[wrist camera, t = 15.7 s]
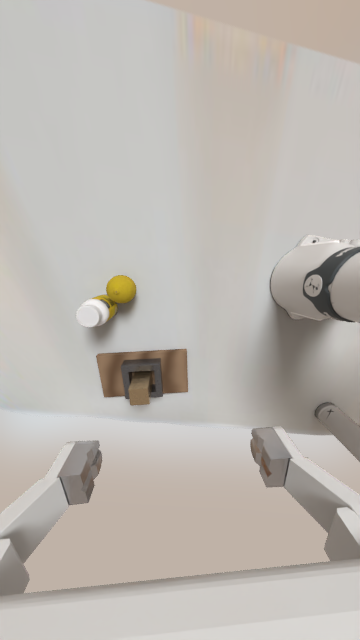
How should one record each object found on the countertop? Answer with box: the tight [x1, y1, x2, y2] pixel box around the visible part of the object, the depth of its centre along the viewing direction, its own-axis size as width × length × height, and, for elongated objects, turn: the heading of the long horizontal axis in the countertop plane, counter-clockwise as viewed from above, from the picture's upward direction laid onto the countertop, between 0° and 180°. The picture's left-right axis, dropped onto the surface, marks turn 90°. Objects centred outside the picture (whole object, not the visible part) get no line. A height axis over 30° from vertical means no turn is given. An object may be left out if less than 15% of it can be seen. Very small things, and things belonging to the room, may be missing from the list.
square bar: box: [128, 371, 153, 405], centre depth 41 cm, size 4×4×8 cm
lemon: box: [106, 275, 136, 303], centre depth 35 cm, size 6×6×8 cm
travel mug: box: [315, 403, 360, 461], centre depth 43 cm, size 6×7×20 cm
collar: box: [121, 358, 163, 399], centre depth 43 cm, size 9×9×3 cm
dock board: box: [96, 349, 188, 397], centre depth 45 cm, size 22×12×1 cm, turn 92°
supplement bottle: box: [76, 295, 118, 327], centre depth 35 cm, size 5×5×10 cm
